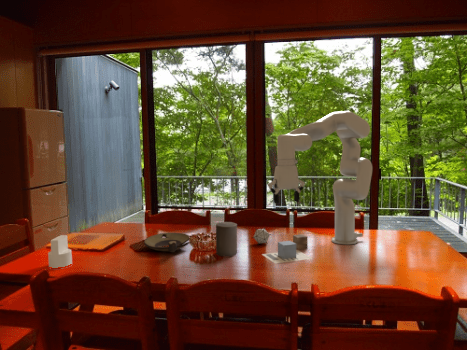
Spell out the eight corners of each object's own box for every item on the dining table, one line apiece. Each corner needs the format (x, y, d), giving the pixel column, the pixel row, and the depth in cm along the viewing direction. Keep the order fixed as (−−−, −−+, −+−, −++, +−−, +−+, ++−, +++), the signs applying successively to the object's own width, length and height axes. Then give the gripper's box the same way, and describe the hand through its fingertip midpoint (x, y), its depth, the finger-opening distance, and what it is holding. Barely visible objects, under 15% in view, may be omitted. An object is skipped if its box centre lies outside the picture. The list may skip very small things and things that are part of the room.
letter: (297, 250, 178) (297, 250, 178) (313, 259, 165) (313, 258, 165) (261, 254, 172) (261, 254, 172) (274, 263, 159) (274, 263, 159)
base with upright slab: (55, 262, 167) (53, 235, 166) (75, 262, 167) (74, 235, 166) (44, 269, 158) (43, 240, 157) (66, 268, 158) (64, 240, 157)
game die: (264, 252, 189) (269, 239, 183) (248, 245, 191) (252, 232, 184) (269, 239, 196) (274, 226, 190) (254, 233, 198) (258, 220, 191)
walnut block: (302, 246, 185) (302, 234, 184) (307, 249, 180) (307, 236, 180) (293, 247, 183) (293, 235, 183) (298, 250, 179) (297, 237, 178)
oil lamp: (194, 242, 197) (194, 227, 196) (185, 259, 167) (184, 242, 167) (151, 242, 198) (151, 227, 197) (134, 260, 168) (133, 243, 167)
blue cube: (290, 253, 172) (289, 240, 172) (296, 257, 167) (296, 244, 166) (277, 255, 170) (277, 242, 170) (283, 259, 165) (283, 245, 164)
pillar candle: (212, 255, 173) (212, 222, 171) (220, 249, 182) (220, 218, 180) (233, 257, 169) (232, 224, 168) (240, 251, 178) (240, 219, 177)
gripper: (299, 162, 171) (300, 199, 173) (264, 163, 166) (264, 202, 167) (308, 162, 164) (308, 202, 166) (271, 164, 159) (271, 205, 160)
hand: (286, 202), depth 166 cm, fingers open, 9 cm apart
